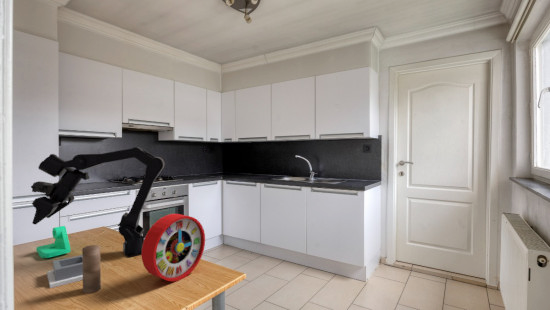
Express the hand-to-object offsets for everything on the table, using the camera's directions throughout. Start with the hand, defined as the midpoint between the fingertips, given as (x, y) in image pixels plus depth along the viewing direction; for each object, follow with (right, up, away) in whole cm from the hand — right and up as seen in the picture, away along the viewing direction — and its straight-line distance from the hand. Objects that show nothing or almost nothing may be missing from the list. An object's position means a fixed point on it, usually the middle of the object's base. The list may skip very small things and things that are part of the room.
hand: (40, 220), depth 104 cm
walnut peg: (+31, -16, -20) cm, 40 cm away
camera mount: (-2, -15, +8) cm, 17 cm away
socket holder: (+19, -15, -10) cm, 26 cm away
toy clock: (+53, -16, -11) cm, 56 cm away
